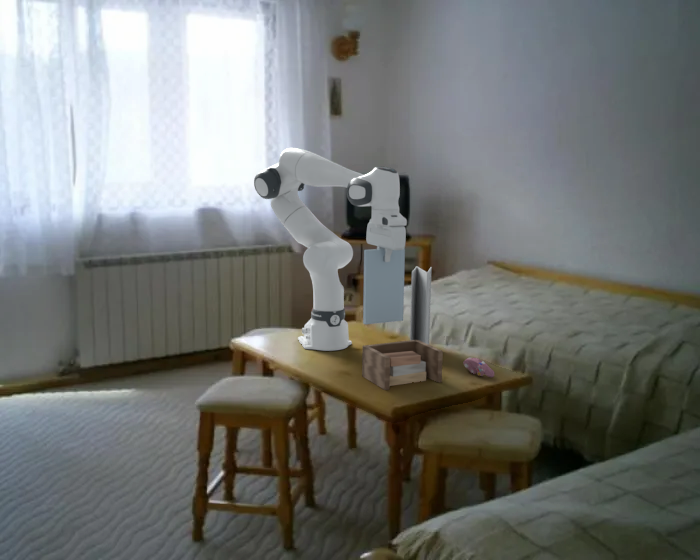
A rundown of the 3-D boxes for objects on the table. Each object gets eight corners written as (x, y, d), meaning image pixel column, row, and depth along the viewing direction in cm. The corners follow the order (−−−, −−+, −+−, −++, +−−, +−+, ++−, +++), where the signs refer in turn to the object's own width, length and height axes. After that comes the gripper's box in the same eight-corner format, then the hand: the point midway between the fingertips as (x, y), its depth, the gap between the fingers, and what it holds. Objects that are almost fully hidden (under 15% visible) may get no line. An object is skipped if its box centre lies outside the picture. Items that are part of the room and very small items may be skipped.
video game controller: (465, 376, 239) (459, 359, 236) (474, 368, 241) (468, 351, 238) (487, 384, 231) (481, 366, 228) (496, 375, 233) (490, 358, 230)
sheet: (363, 323, 236) (364, 249, 232) (400, 319, 242) (402, 247, 238) (365, 324, 235) (366, 250, 231) (403, 320, 241) (404, 248, 237)
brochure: (425, 357, 255) (427, 272, 250) (409, 356, 256) (411, 272, 251) (429, 347, 268) (431, 266, 263) (414, 346, 269) (416, 266, 264)
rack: (362, 376, 232) (362, 345, 231) (416, 369, 241) (417, 339, 239) (384, 390, 219) (385, 357, 217) (441, 382, 227) (442, 350, 226)
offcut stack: (379, 380, 229) (379, 353, 228) (415, 375, 235) (415, 349, 233) (389, 386, 223) (390, 359, 221) (426, 381, 228) (427, 355, 227)
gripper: (361, 215, 241) (361, 257, 243) (391, 221, 223) (390, 266, 225) (378, 215, 243) (378, 256, 246) (409, 220, 225) (408, 264, 228)
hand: (384, 261), depth 235 cm, fingers closed on sheet, 2 cm apart
